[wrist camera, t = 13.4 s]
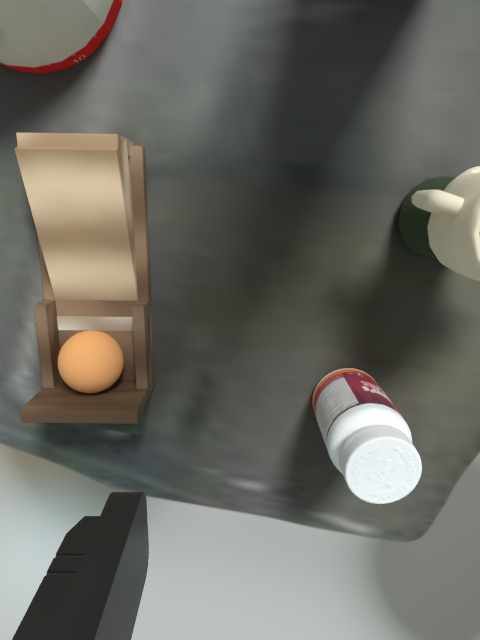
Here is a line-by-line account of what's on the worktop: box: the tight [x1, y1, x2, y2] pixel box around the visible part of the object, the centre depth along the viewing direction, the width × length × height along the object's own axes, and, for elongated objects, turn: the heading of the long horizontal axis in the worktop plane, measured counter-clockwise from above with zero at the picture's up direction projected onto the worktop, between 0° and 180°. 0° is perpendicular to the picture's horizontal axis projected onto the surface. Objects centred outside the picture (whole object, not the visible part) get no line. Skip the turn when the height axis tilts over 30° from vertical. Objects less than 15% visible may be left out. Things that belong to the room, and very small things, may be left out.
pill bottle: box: [313, 368, 422, 504], centre depth 35 cm, size 6×6×11 cm
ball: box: [58, 330, 124, 393], centre depth 35 cm, size 5×5×5 cm
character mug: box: [398, 166, 480, 281], centre depth 30 cm, size 11×7×13 cm, turn 72°
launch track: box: [15, 133, 155, 424], centre depth 34 cm, size 20×9×9 cm, turn 179°
